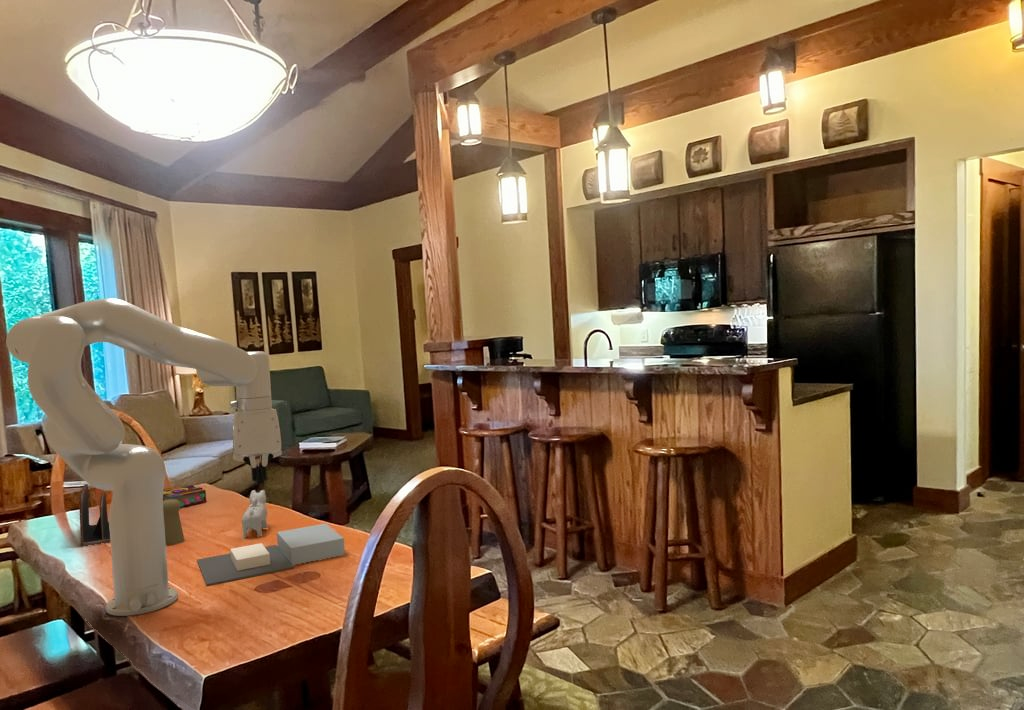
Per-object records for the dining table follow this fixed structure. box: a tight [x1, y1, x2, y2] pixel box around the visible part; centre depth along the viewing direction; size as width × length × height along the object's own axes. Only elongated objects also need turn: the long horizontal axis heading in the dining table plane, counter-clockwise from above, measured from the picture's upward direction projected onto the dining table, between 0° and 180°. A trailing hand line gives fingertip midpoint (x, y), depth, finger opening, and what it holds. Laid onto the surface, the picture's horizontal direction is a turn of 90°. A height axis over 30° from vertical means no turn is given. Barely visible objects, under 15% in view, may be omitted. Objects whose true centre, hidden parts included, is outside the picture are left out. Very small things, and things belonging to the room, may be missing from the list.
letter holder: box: [78, 483, 110, 547], centre depth 193 cm, size 10×20×14 cm, turn 27°
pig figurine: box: [241, 489, 269, 539], centre depth 188 cm, size 5×13×11 cm, turn 9°
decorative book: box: [163, 484, 207, 509], centre depth 227 cm, size 11×16×5 cm
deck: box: [276, 522, 346, 566], centre depth 169 cm, size 16×12×4 cm
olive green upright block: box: [163, 499, 185, 547], centre depth 183 cm, size 6×6×11 cm
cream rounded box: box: [230, 542, 270, 571], centre depth 162 cm, size 10×7×2 cm
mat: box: [196, 544, 295, 587], centre depth 161 cm, size 20×18×1 cm
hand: (259, 483), depth 164 cm, fingers closed
